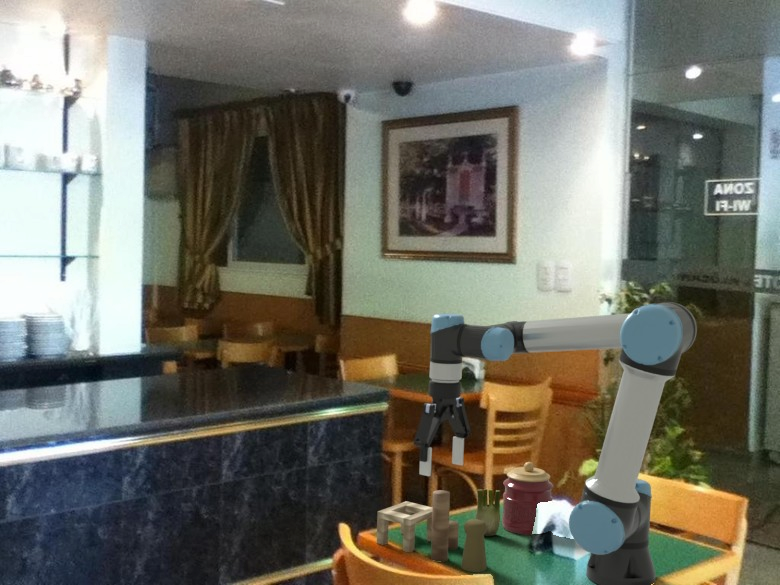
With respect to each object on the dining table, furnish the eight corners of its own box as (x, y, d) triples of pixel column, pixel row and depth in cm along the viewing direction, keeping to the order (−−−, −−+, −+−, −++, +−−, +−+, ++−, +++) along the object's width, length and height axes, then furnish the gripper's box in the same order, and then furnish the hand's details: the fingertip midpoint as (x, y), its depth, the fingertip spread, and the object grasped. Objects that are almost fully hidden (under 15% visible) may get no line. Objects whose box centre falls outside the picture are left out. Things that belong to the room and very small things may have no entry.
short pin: (461, 546, 234) (461, 522, 234) (452, 550, 231) (452, 526, 230) (447, 543, 236) (448, 519, 236) (438, 547, 233) (439, 523, 233)
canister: (492, 523, 253) (494, 458, 252) (533, 518, 259) (536, 454, 258) (519, 538, 241) (521, 470, 240) (561, 532, 247) (564, 466, 246)
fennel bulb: (500, 534, 244) (502, 488, 243) (492, 539, 240) (494, 493, 239) (480, 530, 247) (481, 485, 246) (472, 535, 243) (473, 489, 242)
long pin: (451, 558, 225) (453, 492, 224) (441, 563, 222) (443, 496, 221) (437, 555, 227) (439, 489, 226) (427, 559, 224) (429, 492, 223)
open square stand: (437, 540, 238) (438, 508, 238) (409, 552, 229) (410, 519, 228) (405, 531, 244) (406, 501, 244) (376, 543, 235) (377, 511, 234)
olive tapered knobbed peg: (485, 572, 216) (487, 525, 216) (459, 570, 218) (460, 523, 217) (488, 563, 222) (489, 517, 222) (462, 561, 224) (464, 515, 223)
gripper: (460, 372, 234) (457, 457, 235) (400, 384, 214) (397, 476, 216) (486, 376, 229) (483, 462, 231) (427, 388, 210) (424, 482, 211)
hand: (441, 469), depth 223 cm, fingers open, 13 cm apart
